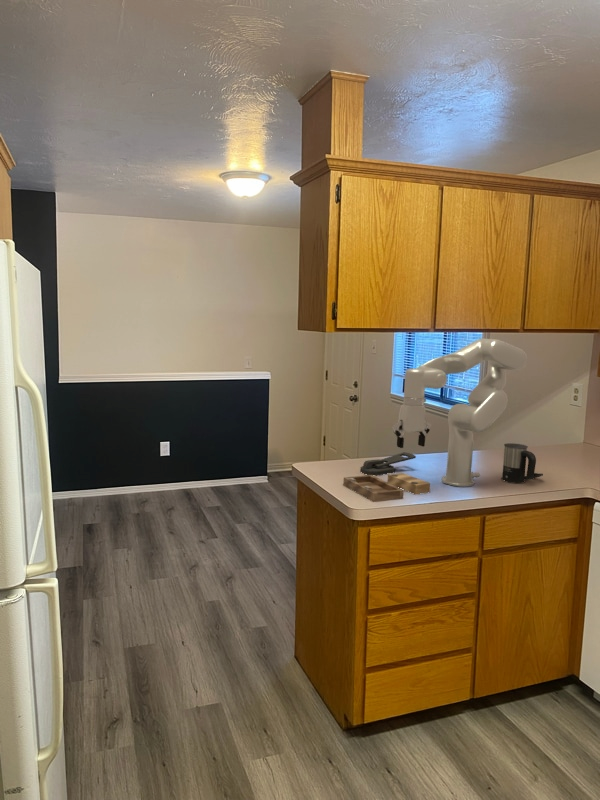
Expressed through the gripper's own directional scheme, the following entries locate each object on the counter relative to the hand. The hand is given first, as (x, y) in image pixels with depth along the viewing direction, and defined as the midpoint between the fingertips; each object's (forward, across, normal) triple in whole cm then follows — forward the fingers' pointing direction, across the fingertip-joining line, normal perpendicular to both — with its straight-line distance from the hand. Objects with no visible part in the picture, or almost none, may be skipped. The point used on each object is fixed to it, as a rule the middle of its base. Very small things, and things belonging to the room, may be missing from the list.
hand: (410, 446), depth 227 cm
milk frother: (+17, -53, +5) cm, 56 cm away
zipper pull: (+16, -6, -24) cm, 30 cm away
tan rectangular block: (+16, 0, 0) cm, 16 cm away
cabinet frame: (+16, +16, 0) cm, 23 cm away
